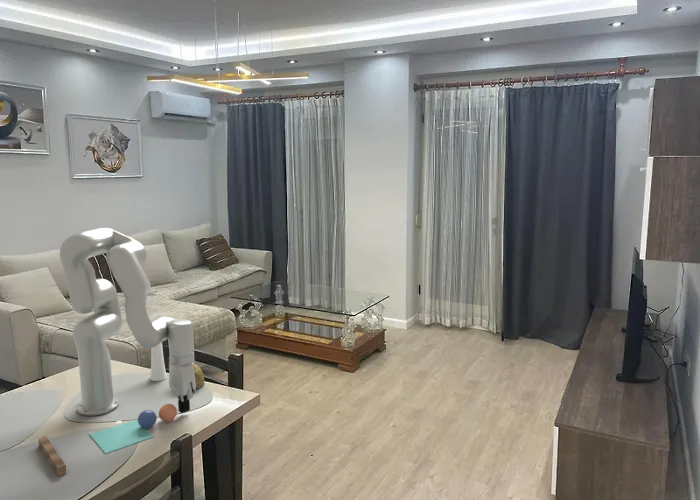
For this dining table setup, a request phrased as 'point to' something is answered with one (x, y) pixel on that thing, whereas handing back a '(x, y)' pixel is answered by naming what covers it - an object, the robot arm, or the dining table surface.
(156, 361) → the cosmetic bottle
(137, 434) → the teal mark
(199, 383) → the rock
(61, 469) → the walnut rail
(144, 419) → the navy ball
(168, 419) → the orange ball
